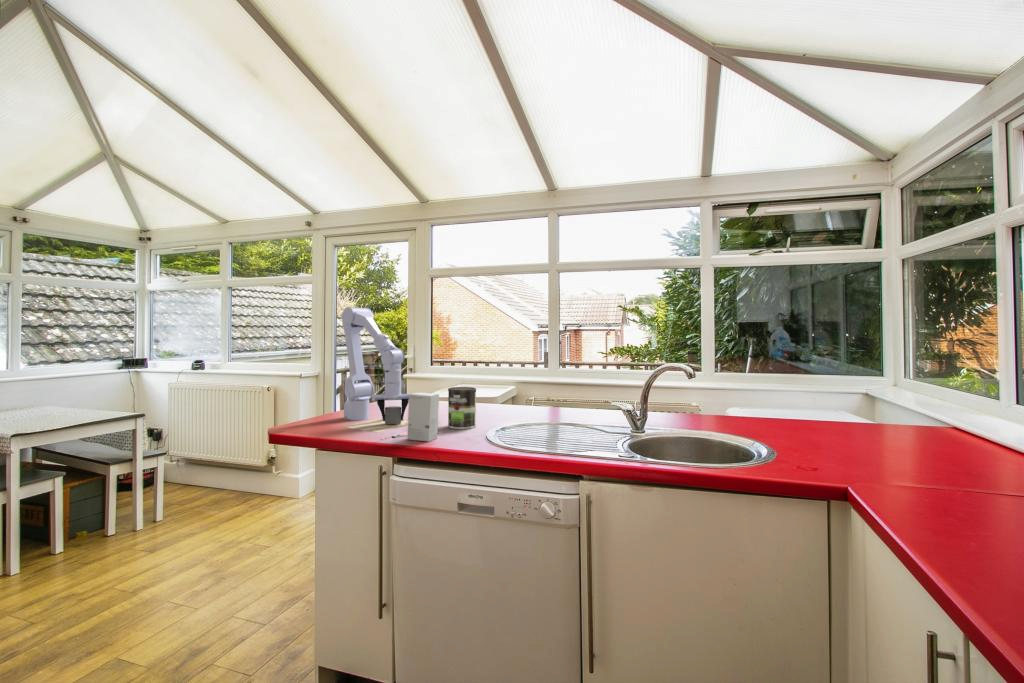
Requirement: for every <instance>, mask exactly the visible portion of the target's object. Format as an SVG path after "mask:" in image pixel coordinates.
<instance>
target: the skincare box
mask: <svg viewBox="0 0 1024 683" xmlns="http://www.w3.org/2000/svg"><path fill="white" fill-rule="evenodd" d="M408 394H409V402H408V417H407V420H408V425H407V440H408V441H409V440H410V441H420V442H432V441H434V440H437V439H438V430H439V428H438V427H439V426H438V425H439V405H440V402H439V401H440V400H439V399H440V394H437V393H430V392H429V393H428V392H413V393H408Z"/></svg>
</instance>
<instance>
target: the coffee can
mask: <svg viewBox="0 0 1024 683" xmlns="http://www.w3.org/2000/svg"><path fill="white" fill-rule="evenodd" d="M447 391H448V394H447V395H448V402H447V403H448V406H447V407H448V408H447V409H448V410H447V411H448V412H447V413H448V415H447V416H448V417H447V419H448V422H447V424H448V425H447V427H448V428H449V429H452V430H468V429H469V430H470V429H474V428H476V427H477V424H476V420H477V419H476V418H477V417H476V415H477V413H476V412H477V410H476V409H477V408H476V406H477V405H476V404H477V401H476V400H477V388H476V387H469V386H456V387H455V386H453V387H452V386H451V387H449V388H448V389H447Z"/></svg>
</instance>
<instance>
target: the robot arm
mask: <svg viewBox="0 0 1024 683" xmlns="http://www.w3.org/2000/svg"><path fill="white" fill-rule="evenodd" d="M374 315H375V314H374V313H373V312H372V310H371V309H370V308H369V307H351V306H347V307H345V308H344V310H343V311H342V314H341V321H342V329H343V331H344V339H345V345H346V347H345V348H346V351H347V352H346V353H347V360H348V368H349V373H350V375H349V376H348V377H347V378H346V379H345V380H344V396H345V398H347V399H346V400H345V402H344V403H343V419H345V420H349V421H365V420H368V419H370V399H371V402H376V404H377V406H378V408H379V410H380V413H381V417H382V418H383V421H385V407H386V403H385V401H401V420H404V415H405V412H406V408H407V406H409V394H410V393H402V364H403V363H404V361H405V353H404V351H403V350H402V348H398V347H396V345H394V342H392V340H391V339H390V336H389V335H388V334H386V333H382V332H381V330H380V328H379V326H378V324H377V323H376V321H375V319H374ZM364 330H366V331H367V332H368V334H369V335H370V336H371V337H372V338H373V345H374V347H375V348H376V349H377V352H379V354H380V356H381V357H380V360H381V363H382V367H383V371H384V394H374V393H375V392H374V391H375V387H374V383H373V382H372V377H371V376H370V375H368V374H367V373H366V372H365V364H364V357H363V351H362V344H361V338H360V334H361V332H362V331H364Z"/></svg>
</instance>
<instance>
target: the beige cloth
mask: <svg viewBox="0 0 1024 683" xmlns="http://www.w3.org/2000/svg"><path fill="white" fill-rule="evenodd" d="M341 427H342V428H346V429H354V430H358V431H359V430H360V431H365V432H371V433H380V432H381V433H382V432H385V431H390V430H394V429H398V428H403V427H408V419H407V420H406V419H403V420H401V423H399V424H396V425H389V424H385V421H383V418H377V419H372V420H367V421H363V422H356V423H353V424H347V425H343V426H341Z"/></svg>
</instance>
